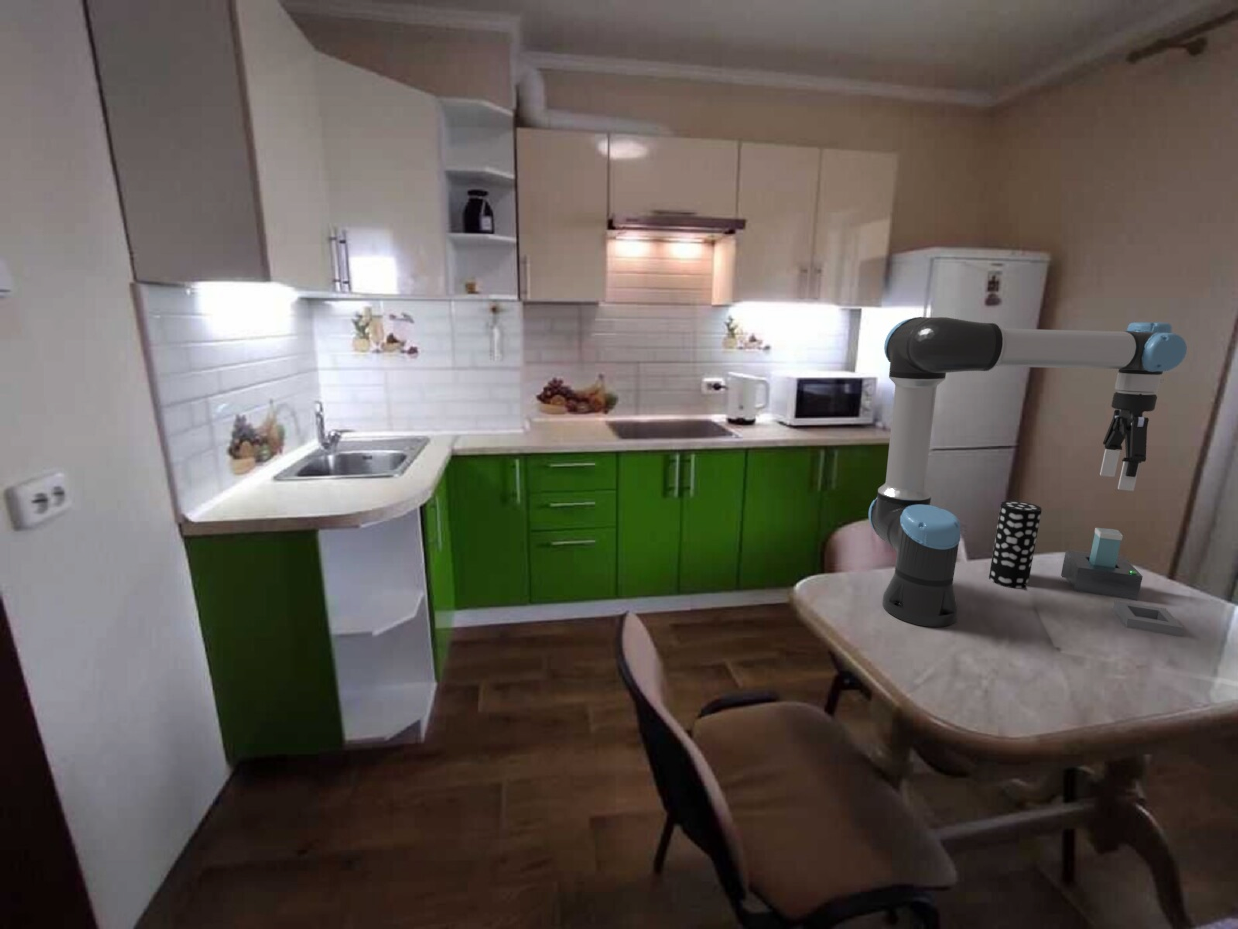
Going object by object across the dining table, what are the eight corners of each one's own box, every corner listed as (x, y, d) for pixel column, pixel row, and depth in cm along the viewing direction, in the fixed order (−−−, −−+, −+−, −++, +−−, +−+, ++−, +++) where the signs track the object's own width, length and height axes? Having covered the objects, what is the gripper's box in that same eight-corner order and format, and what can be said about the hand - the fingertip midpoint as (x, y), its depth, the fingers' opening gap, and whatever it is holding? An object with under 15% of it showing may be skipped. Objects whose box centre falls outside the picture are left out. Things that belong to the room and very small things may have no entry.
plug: (1090, 579, 142) (1100, 533, 139) (1086, 573, 146) (1095, 527, 143) (1112, 582, 140) (1122, 535, 137) (1107, 576, 144) (1117, 530, 141)
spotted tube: (1035, 588, 144) (1050, 511, 139) (1001, 588, 144) (1015, 511, 139) (1014, 574, 152) (1027, 500, 147) (981, 574, 152) (993, 500, 147)
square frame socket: (1125, 631, 124) (1128, 618, 123) (1111, 612, 132) (1114, 600, 131) (1180, 640, 120) (1183, 627, 120) (1162, 621, 128) (1165, 608, 128)
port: (1073, 594, 141) (1078, 565, 139) (1060, 575, 151) (1066, 548, 150) (1136, 604, 136) (1143, 574, 134) (1119, 583, 147) (1125, 556, 145)
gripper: (1180, 399, 120) (1156, 498, 125) (1137, 387, 142) (1118, 472, 147) (1133, 397, 123) (1112, 494, 128) (1099, 386, 145) (1082, 469, 150)
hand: (1115, 482), depth 138 cm, fingers open, 13 cm apart
